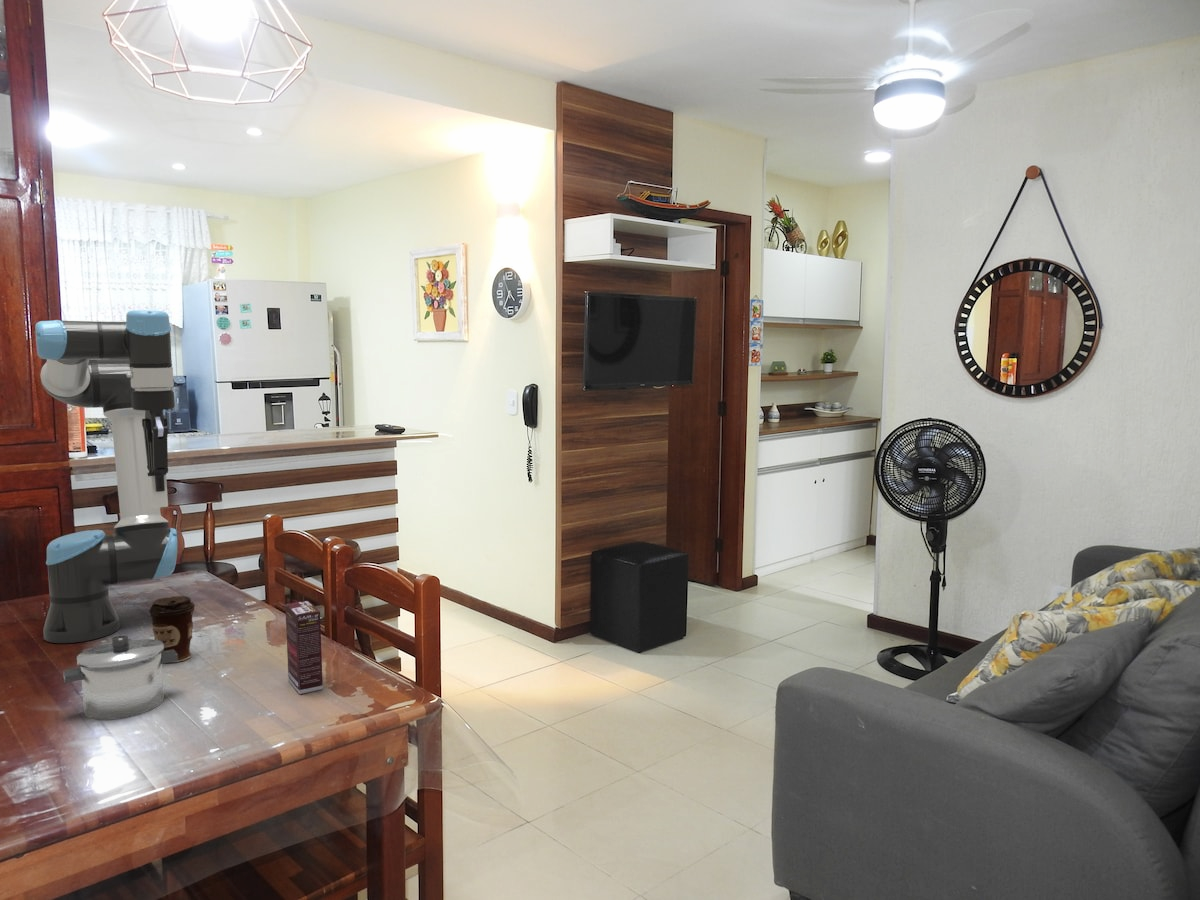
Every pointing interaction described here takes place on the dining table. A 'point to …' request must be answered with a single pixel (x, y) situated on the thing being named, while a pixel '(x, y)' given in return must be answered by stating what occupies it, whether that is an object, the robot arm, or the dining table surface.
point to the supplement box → (304, 647)
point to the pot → (122, 687)
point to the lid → (120, 652)
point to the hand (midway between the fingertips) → (160, 506)
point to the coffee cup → (173, 624)
